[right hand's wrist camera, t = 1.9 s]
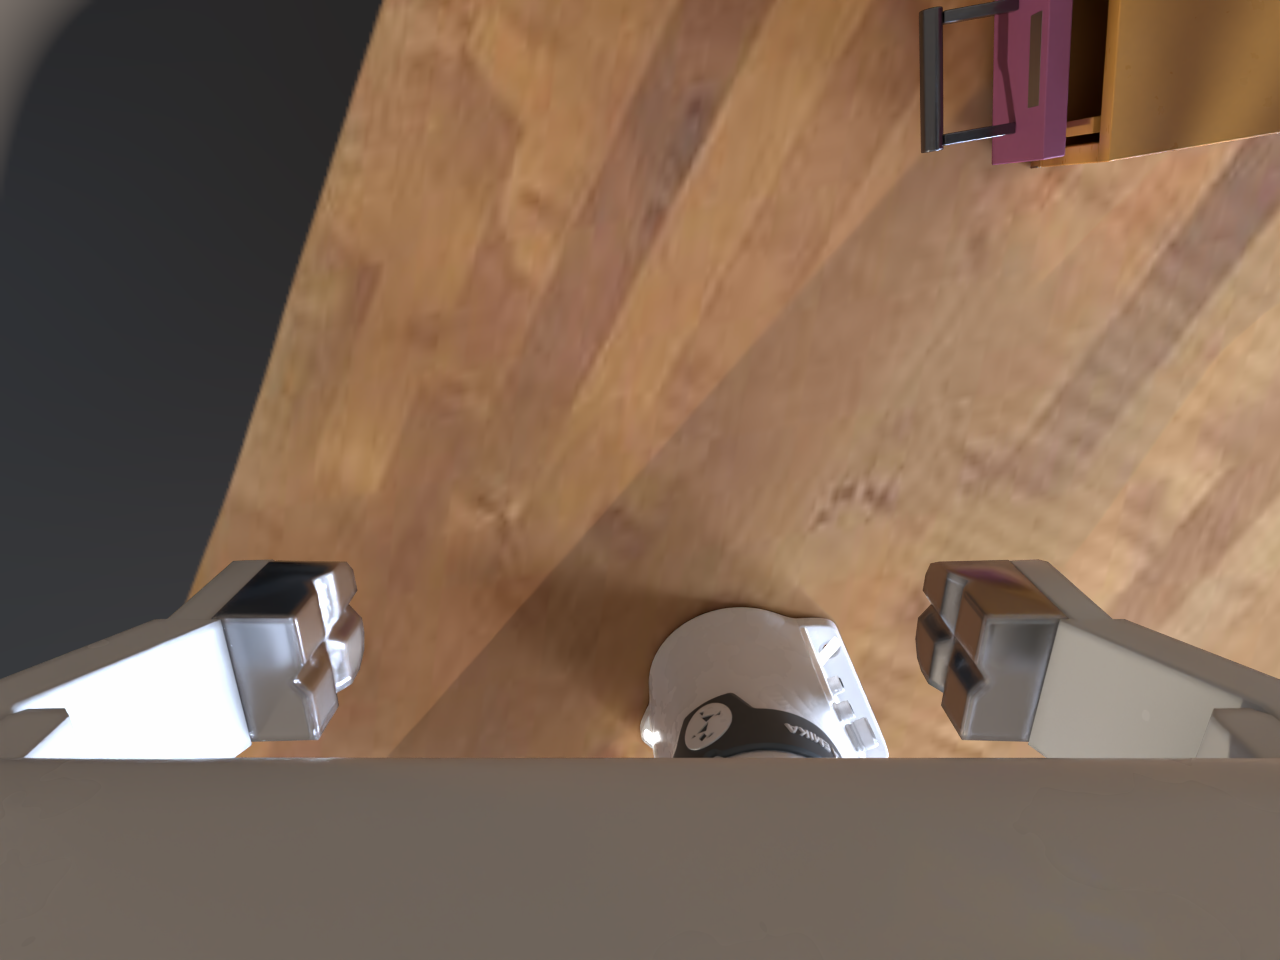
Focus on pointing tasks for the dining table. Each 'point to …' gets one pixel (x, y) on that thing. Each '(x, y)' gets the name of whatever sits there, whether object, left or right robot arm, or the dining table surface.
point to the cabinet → (1183, 78)
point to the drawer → (1024, 75)
